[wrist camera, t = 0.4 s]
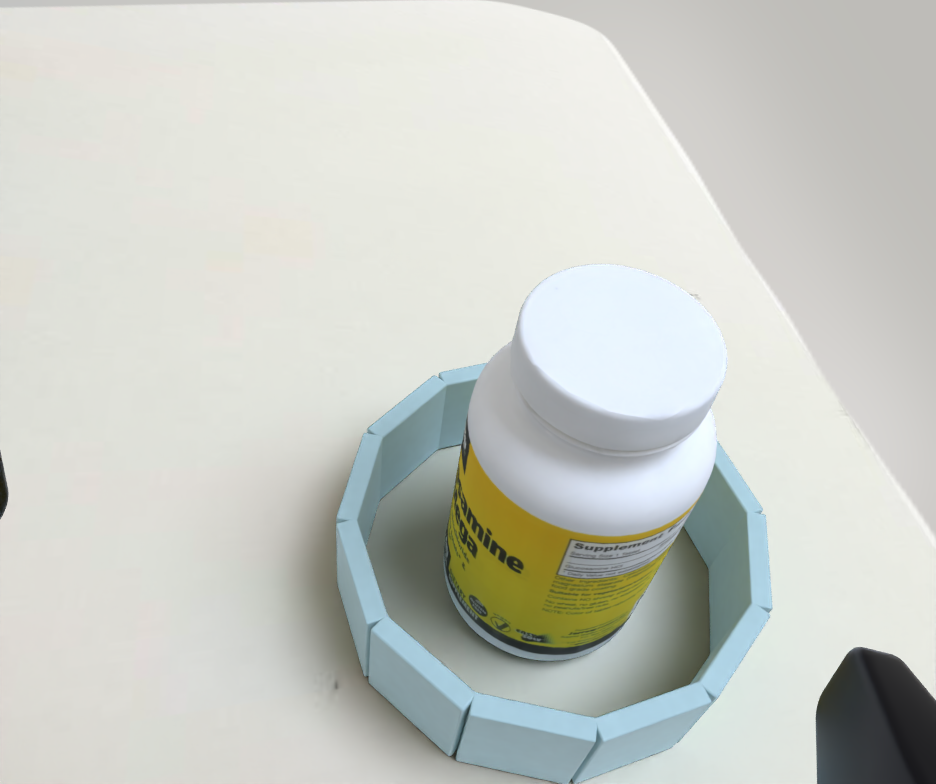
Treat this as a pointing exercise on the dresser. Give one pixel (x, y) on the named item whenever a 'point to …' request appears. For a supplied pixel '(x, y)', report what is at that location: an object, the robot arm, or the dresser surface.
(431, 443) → the light blue ring
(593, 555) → the pill bottle
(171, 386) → the dresser surface
